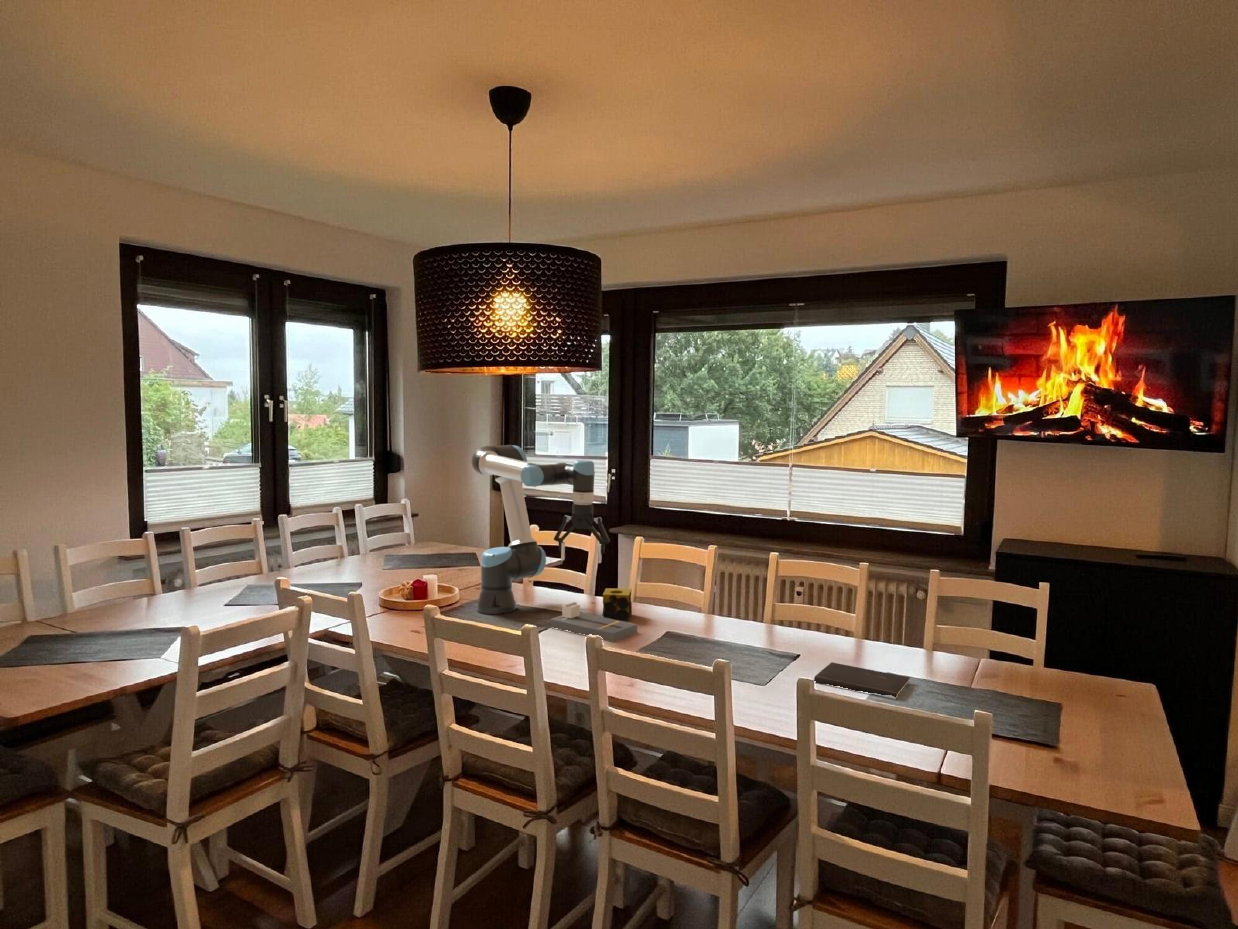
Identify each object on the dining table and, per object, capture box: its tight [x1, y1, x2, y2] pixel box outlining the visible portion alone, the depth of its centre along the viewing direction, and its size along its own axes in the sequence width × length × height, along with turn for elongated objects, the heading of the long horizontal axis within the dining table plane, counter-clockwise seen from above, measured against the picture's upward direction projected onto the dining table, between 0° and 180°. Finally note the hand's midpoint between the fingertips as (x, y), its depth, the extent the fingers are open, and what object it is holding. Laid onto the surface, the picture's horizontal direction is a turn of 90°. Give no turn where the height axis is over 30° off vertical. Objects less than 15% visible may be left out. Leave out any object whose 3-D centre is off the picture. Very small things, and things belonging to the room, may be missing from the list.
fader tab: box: [561, 601, 581, 618], centre depth 277 cm, size 4×5×5 cm
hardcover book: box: [813, 661, 911, 697], centre depth 223 cm, size 16×23×2 cm
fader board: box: [549, 611, 638, 643], centre depth 271 cm, size 28×14×3 cm, turn 55°
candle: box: [602, 587, 633, 622], centre depth 288 cm, size 10×10×10 cm
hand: (581, 561), depth 279 cm, fingers open, 13 cm apart
